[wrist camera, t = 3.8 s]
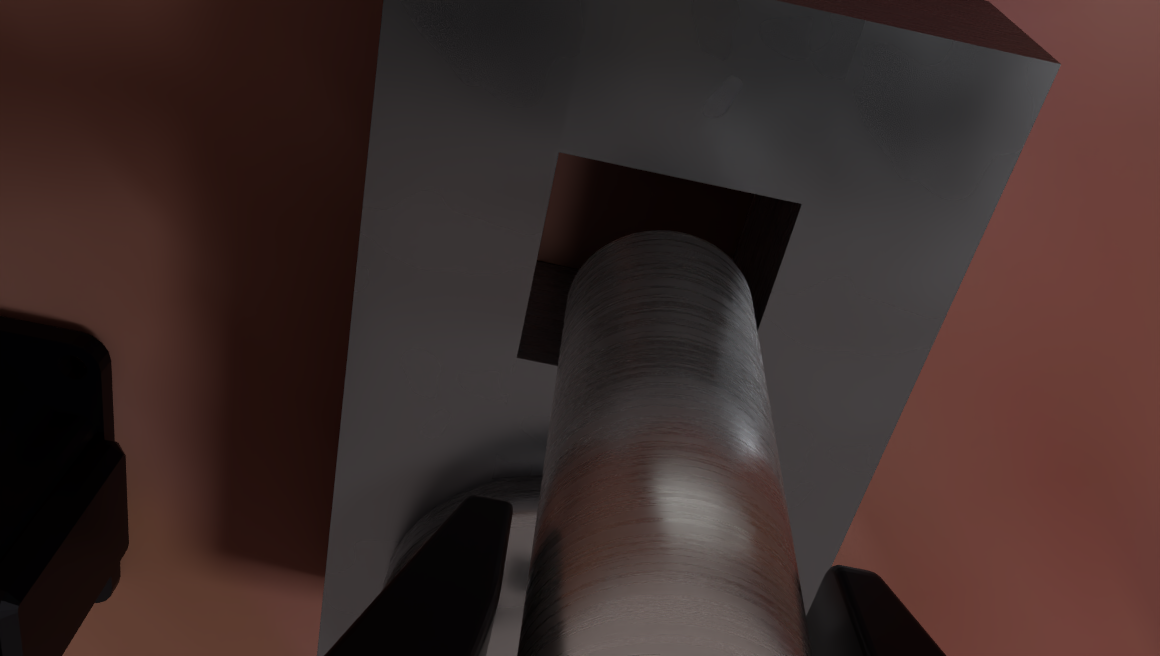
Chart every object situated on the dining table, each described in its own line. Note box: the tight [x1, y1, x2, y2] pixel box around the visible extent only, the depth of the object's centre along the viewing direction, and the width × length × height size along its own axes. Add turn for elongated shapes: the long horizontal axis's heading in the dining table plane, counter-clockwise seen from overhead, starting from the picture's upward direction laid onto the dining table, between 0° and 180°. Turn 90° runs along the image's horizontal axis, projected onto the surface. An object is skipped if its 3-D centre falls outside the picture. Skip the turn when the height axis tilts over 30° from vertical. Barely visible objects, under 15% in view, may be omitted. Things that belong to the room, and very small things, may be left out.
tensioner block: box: [317, 0, 1061, 656], centre depth 16 cm, size 8×14×4 cm, turn 169°
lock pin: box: [517, 230, 812, 656], centre depth 9 cm, size 4×4×10 cm
